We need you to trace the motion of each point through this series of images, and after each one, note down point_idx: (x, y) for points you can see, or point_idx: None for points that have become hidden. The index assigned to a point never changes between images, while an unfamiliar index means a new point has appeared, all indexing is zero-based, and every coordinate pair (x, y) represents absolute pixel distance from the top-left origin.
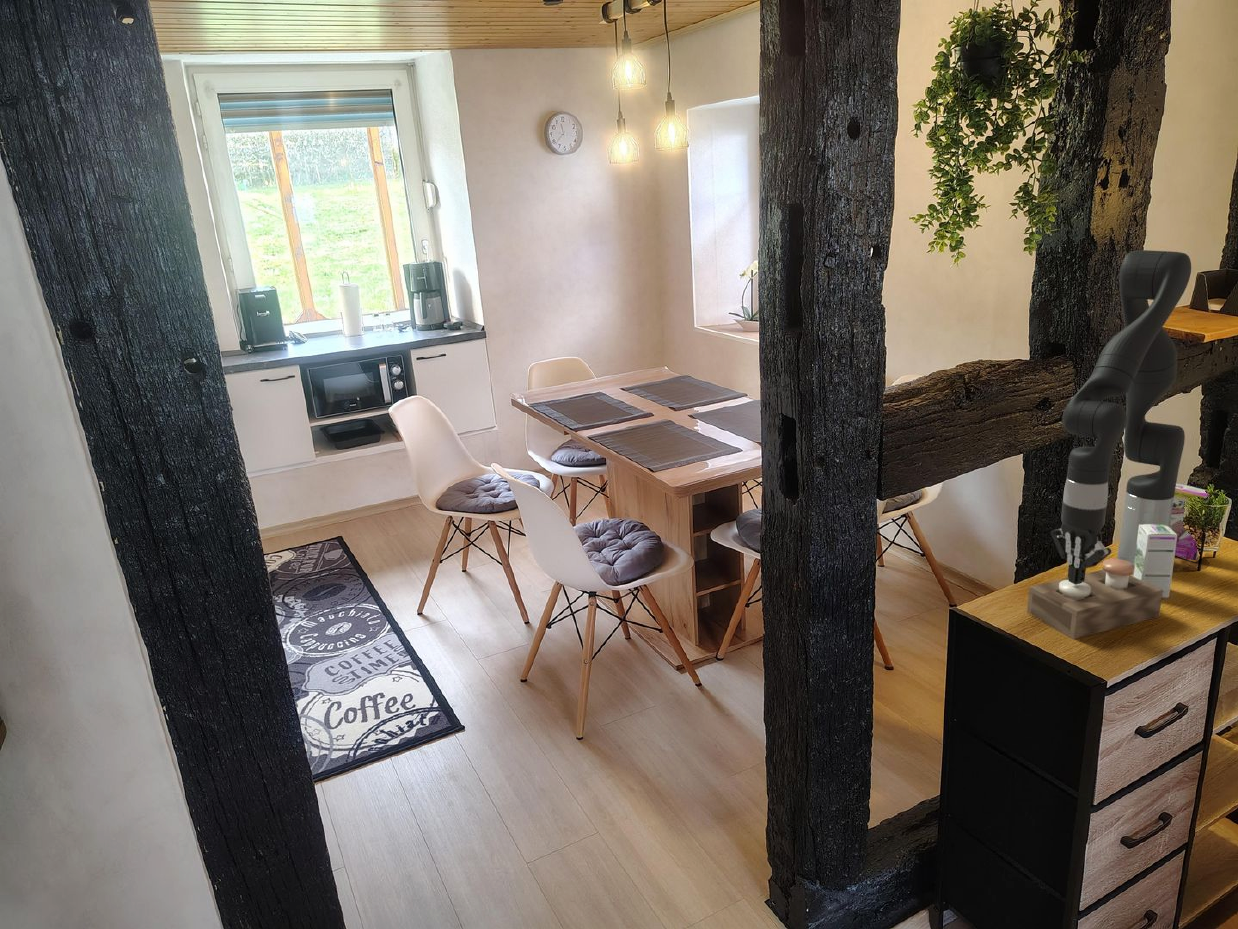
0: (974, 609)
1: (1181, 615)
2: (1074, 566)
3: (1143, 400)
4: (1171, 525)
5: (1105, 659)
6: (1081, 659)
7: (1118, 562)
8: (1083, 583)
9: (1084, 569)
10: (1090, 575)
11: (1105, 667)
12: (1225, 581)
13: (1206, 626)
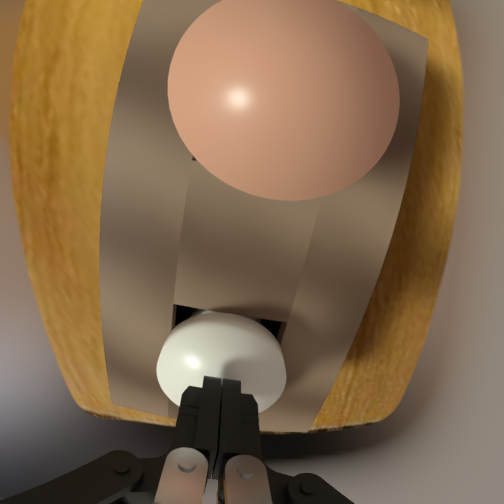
0: (85, 396)
1: (399, 19)
2: (213, 475)
3: None
4: None
5: (379, 380)
6: (345, 409)
7: (266, 51)
8: (226, 341)
9: (258, 458)
10: (135, 129)
11: (386, 397)
12: None
13: (457, 49)
